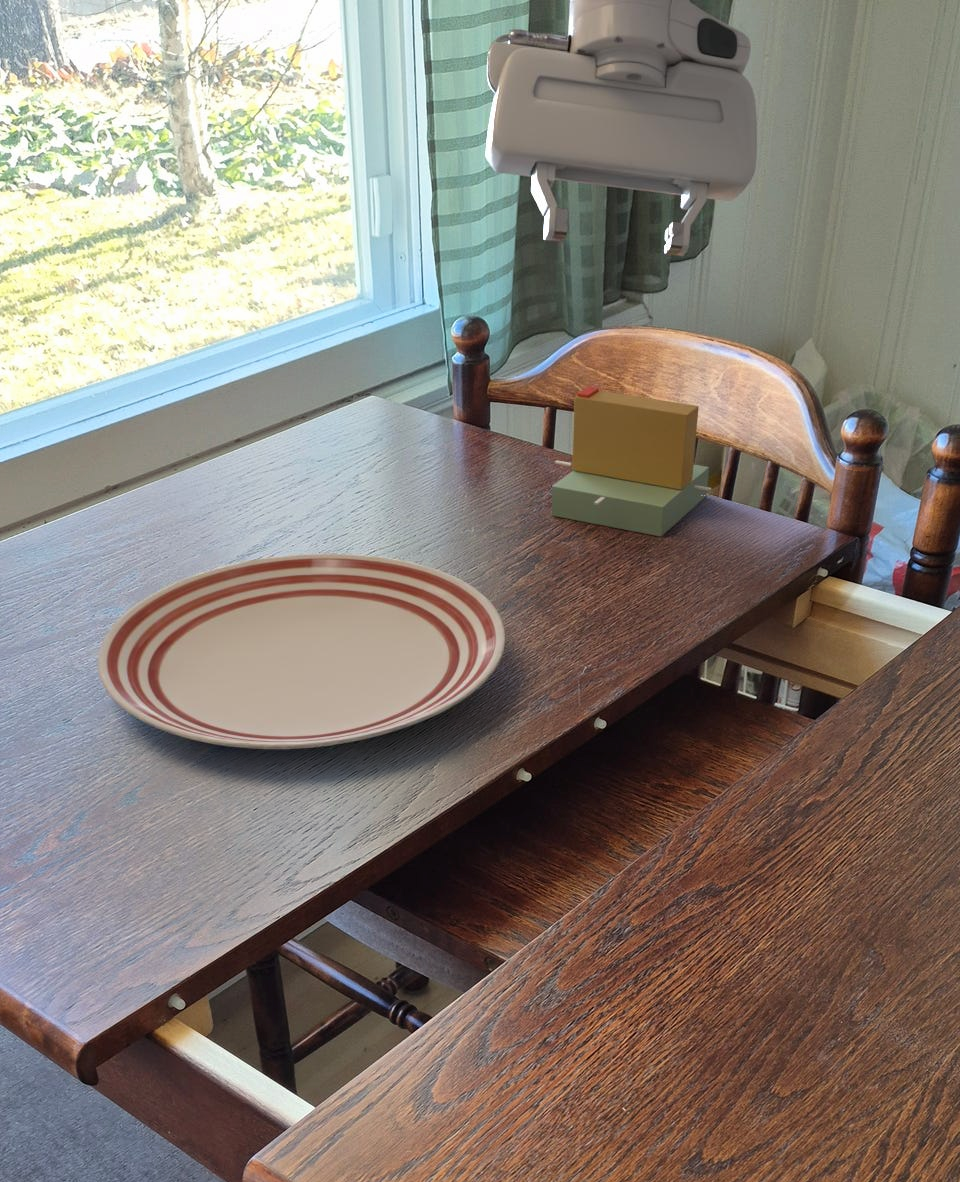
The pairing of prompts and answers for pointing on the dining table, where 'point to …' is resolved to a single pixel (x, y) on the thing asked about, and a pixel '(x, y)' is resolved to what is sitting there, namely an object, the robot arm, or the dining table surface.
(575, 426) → the tan box
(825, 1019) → the dining table surface
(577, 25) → the robot arm
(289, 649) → the dinner plate
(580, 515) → the green base slab
